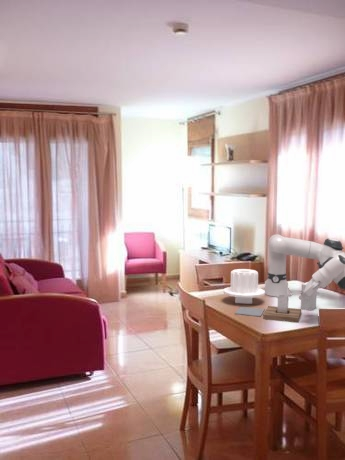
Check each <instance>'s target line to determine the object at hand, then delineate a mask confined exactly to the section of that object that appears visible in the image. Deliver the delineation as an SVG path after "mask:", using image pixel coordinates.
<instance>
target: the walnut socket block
mask: <svg viewBox="0 0 345 460" xmlns="http://www.w3.org/2000/svg"><path fill="white" fill-rule="evenodd" d="M277 308H278V306H272V305H268V306H267V307H266V309H265V310H264V312H263V314H262V315H263V316H262V319H263V320H270V321H280V322H289V323H297V324H299V321H300V319H301V315H302V309H301V308H296V307H294V308H293V307H288V314H284V313H277Z"/></svg>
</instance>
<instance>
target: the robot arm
mask: <svg viewBox="0 0 345 460" xmlns="http://www.w3.org/2000/svg"><path fill="white" fill-rule="evenodd" d="M343 249H345V247H344V246H343V243H342V241H340V240H339V239H337V238H335V237H329V238H326V239H325V240H324V242H323V244H321V243H318V242H315V241H312V240H311V241H310V240H306V239H301V238H296V237H295V238H292V237H287V236H283V235H282V234H278V233H276V234H275V233H274V234H272V235H270V238H269V239H268V269H267V270H268V272H267V279H266V280H265V281H264V289H263V290H264V291H265V295H267V296H270V297H277V298H278V296H279V295H287V296H288V297H289V296H290V297H291V296H292V292H291V290H290V287H289V281H287V277H288V276H287V271H286V270H287V255H288V256H295V257H299V258H304V259H305V258H306V259H310V260H311V259H312V260H318V261H319V262H316V264H317V265H318V269H317V270H316V271H315V272H314V273H313V274H312V275H311V278H310V279H309V281H307V282H308V283H307V284H306V287H305V289H304V290H303V291H302V290H301V292H300V293H299V294H300V296H299V297H298V299H299V300H300V301H301V300H302V299H303V298H305V297H306V296H307V297H310V296H311V295H312V294H313V293H315V292H316V291H318V290H319V289H321V288H322V289H325V288H326V287H327V286H329V285H330V284H331V283H332V282H334V283H335V284H336V285H337V287H338V288H339V289H340V290H345V251H343Z"/></svg>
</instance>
